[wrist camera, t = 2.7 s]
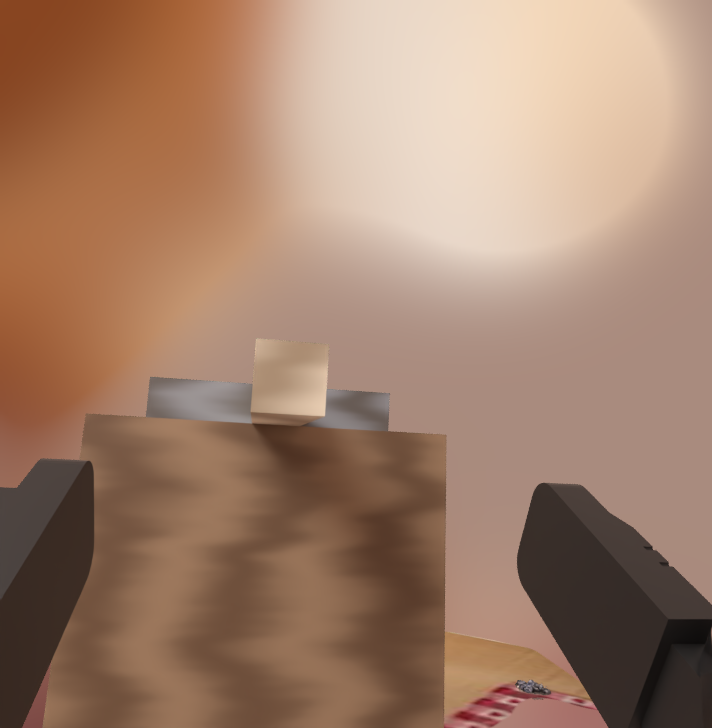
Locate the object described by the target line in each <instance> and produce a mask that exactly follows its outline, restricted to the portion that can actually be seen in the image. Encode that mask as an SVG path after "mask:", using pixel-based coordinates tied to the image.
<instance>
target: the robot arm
mask: <svg viewBox="0 0 712 728" xmlns="http://www.w3.org/2000/svg"><path fill="white" fill-rule="evenodd" d="M93 552H94V470H93V465H92V463H91V461H86V460H65V459H64V460H63V459H40V460H39V461H38V462H37V463H36V464H35V466H34V467H33V468H32V469H31V471H30V472H29V473H28V475H27V476H26V477H25V478H24V480H23V481H22V482H21V483H20V485H19V486H18V487H17V488H2V487H0V728H22V726H23V724H24V722H25V720H26V717H27V715H28V713H29V710H30V708H31V706H32V703H33V701H34V699H35V697H36V695H37V692H38V690H39V688H40V685H41V683H42V681H43V679H44V676H45V674H46V671H47V670H48V667H49V665H50V663H51V660H52V658H53V656H54V654H55V651H56V649H57V647H58V645H59V642H60V640H61V638H62V635H63V633H64V631H65V629H66V626H67V624H68V622H69V620H70V617H71V615H72V613H73V610H74V608H75V606H76V604H77V601H78V599H79V597H80V595H81V592H82V590H83V588H84V585H85V583H86V581H87V578H88V575H89V572H90V568H91V564H92V559H93ZM517 568H518V574H519V578H520V581H521V584H522V586H523V588H524V590H525V591H526V592H527V594H528V596H529V598H530V599H531V601H532V603H533V604H534V606H535V608H536V609H537V611H538V612H539V614H540V616H541V617H542V619H543V621H544V622H545V624H546V626H547V627H548V629H549V630H550V632H551V634H552V635H553V637H554V639H555V640H556V642H557V644H558V645H559V647H560V649H561V650H562V652H563V653H564V655H565V657H566V658H567V660H568V662H569V663H570V665H571V667H572V668H573V670H574V672H575V673H576V675H577V676H578V678H579V680H580V681H581V683H582V685H583V686H584V688H585V690H586V691H587V693H588V695H589V696H590V698H591V699H592V701H593V703H594V704H595V706H596V708H597V709H598V711H599V713H600V714H601V716H602V717H603V719H604V721H605V722H606V724H607V726H608V727H609V728H712V605H711V604H710V603H709V602H708V601H707V600H706V599H705V598H704V597H703V596H702V595H701V594H700V593H699V592H698V591H697V590H696V589H695V588H694V587H693V586H692V585H691V584H690V583H689V582H688V581H687V580H686V579H685V578H684V577H683V576H682V575H681V574H680V573H679V572H678V571H677V570H676V569H675V568H674V567H669V565H668V561H667V560H666V559H665V558H664V557H662V555H661V554H660V553H658V552H657V551H655V550H653V549H652V546H651V545H650V544H649V543H648V542H647V541H646V540H645V539H644V538H643V537H642V536H641V535H640V534H639V533H638V532H637V531H636V530H635V529H634V528H633V527H631V526H630V525H628V524H626V523H625V522H623V521H622V520H620V519H619V518H617V517H615V516H613V515H612V514H610V513H609V512H608V511H607V510H606V509H605V508H604V507H603V506H602V505H601V504H600V503H599V502H598V501H597V500H596V499H595V498H594V497H593V496H592V495H591V494H590V493H589V492H588V491H587V490H586V489H585V488H584V487H583V486H581V485H578V484H556V483H541V484H539V485H538V486H537V487H536V489H535V491H534V493H533V496H532V500H531V503H530V507H529V511H528V515H527V519H526V523H525V527H524V530H523V534H522V538H521V542H520V546H519V550H518V556H517Z"/></svg>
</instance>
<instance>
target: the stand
mask: <svg viewBox="0 0 712 728" xmlns="http://www.w3.org/2000/svg"><path fill="white" fill-rule="evenodd" d="M80 460H86V461H91V463H92V465H93V470H94V552H93V559H92V564H91V568H90V572H89V575H88V578H87V581H86V583H85V585H84V588H83V590H82V592H81V595H80V597H79V599H78V601H77V604H76V606H75V608H74V610H73V613H72V615H71V617H70V620H69V622H68V624H67V626H66V629H65V631H64V633H63V635H62V638H61V640H60V642H59V645H58V647H57V649H56V651H55V654H54V656H53V658H52V663H51V670H50V678H49V685H48V692H47V699H46V707H45V714H44V721H43V728H444V644H445V631H444V630H445V528H446V527H445V526H446V525H445V524H446V523H445V519H446V435H440V434H424V433H407V432H390V431H373V430H356V429H339V428H322V427H305V426H288V425H271V424H254V423H237V422H220V421H203V420H185V419H168V418H151V417H134V416H117V415H100V414H86V417H85V424H84V431H83V439H82V446H81V453H80Z"/></svg>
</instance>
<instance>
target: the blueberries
mask: <svg viewBox="0 0 712 728" xmlns="http://www.w3.org/2000/svg"><path fill="white" fill-rule="evenodd" d="M515 685H516V687H517V688H518V689H519V690H520V691H524V692H527V693H534V694H542V695H549V694H551V691H550V690H548V689H547V688H543V687H544V686H543V685H542V683H541V684H538V683H536V682H534V681H533V680H529V681H528V683H526V682H525V681H521V680H518V681H517V683H516V684H515ZM545 687H546V686H545ZM532 699H534V700H535V699H537V700H538V699H540V700H541V699H542V700H543V699H545V698H532ZM546 699H547V698H546Z"/></svg>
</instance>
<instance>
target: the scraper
mask: <svg viewBox="0 0 712 728" xmlns="http://www.w3.org/2000/svg"><path fill="white" fill-rule="evenodd" d="M328 356H329V344H319V343H306V342H294V341H282V340H270V339H256V350H255V362H254V375H253V384H246V383H230V382H216V381H202V380H188V379H173V378H159V377H150V384H149V393H148V402H147V412H146V417H151V418H168V419H185V420H203V421H220V422H237V423H254V424H271V425H288V426H305V427H322V428H339V429H356V430H373V431H388V419H389V395H390V394H389V393H376V392H362V391H347V390H333V389H327V373H328Z"/></svg>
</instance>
